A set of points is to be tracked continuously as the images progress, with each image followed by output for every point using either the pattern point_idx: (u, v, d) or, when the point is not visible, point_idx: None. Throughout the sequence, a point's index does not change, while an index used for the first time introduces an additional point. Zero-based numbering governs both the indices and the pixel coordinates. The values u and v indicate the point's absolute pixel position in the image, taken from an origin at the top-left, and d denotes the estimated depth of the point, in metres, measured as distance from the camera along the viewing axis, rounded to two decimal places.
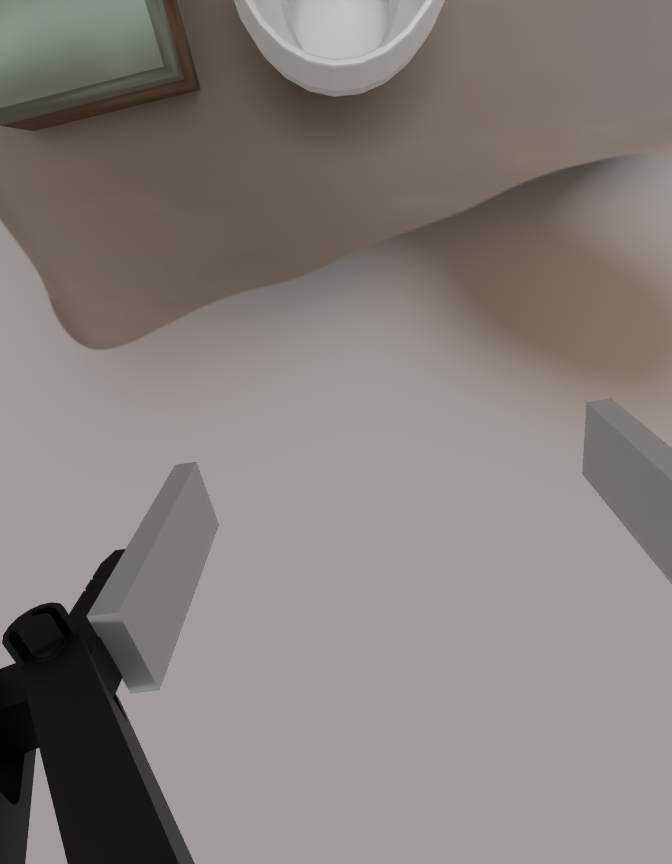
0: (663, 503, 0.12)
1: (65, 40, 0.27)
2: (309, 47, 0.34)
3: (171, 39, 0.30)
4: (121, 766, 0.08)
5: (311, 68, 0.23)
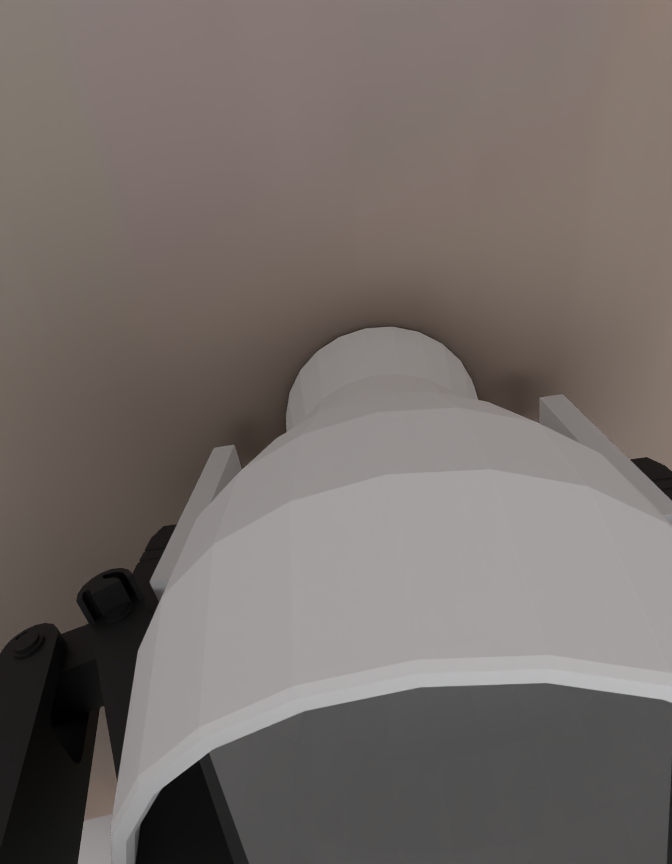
0: None
1: None
2: None
3: None
4: None
5: None
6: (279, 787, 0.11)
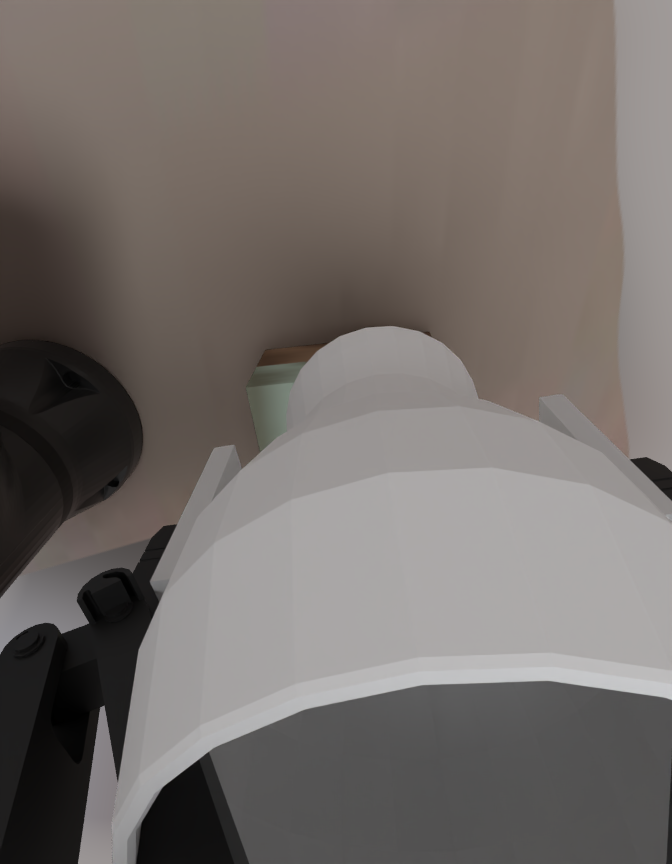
0: None
1: None
2: None
3: None
4: None
5: None
6: (280, 786, 0.11)
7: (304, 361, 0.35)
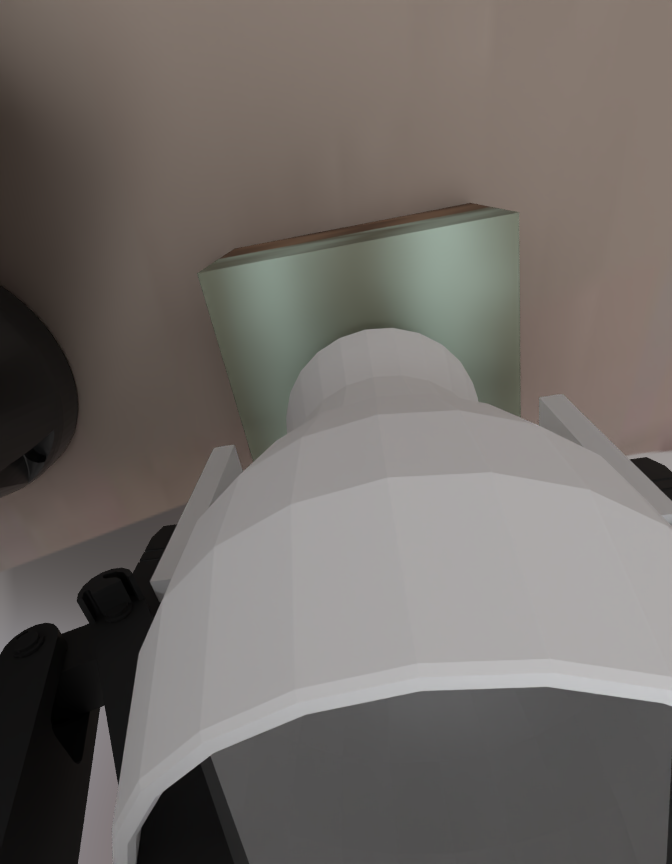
0: None
1: (468, 345, 0.21)
2: None
3: (449, 216, 0.22)
4: None
5: None
6: (280, 789, 0.11)
7: (289, 245, 0.23)
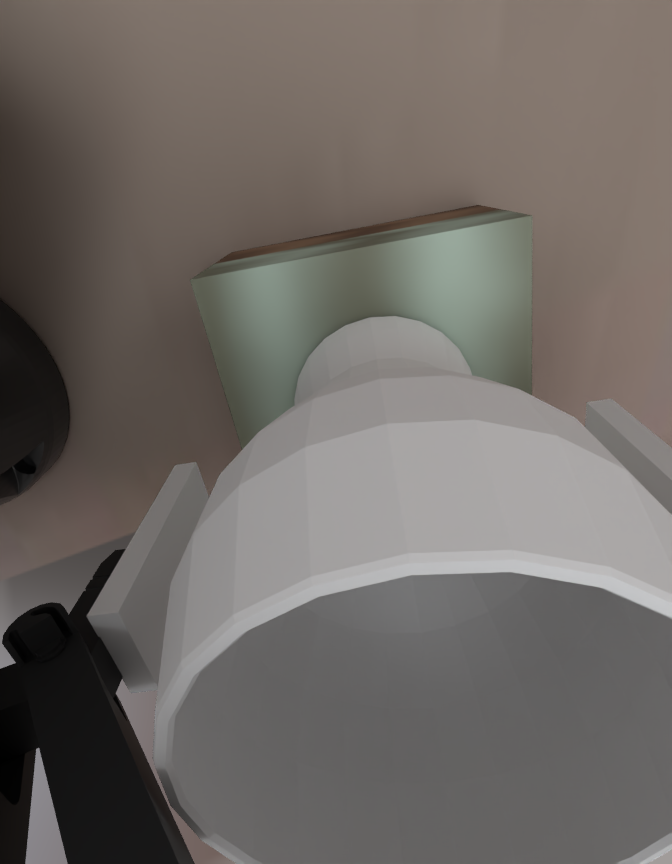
0: (663, 503, 0.12)
1: (477, 356, 0.20)
2: None
3: (456, 218, 0.21)
4: (121, 766, 0.08)
5: None
6: (288, 724, 0.13)
7: (288, 249, 0.22)
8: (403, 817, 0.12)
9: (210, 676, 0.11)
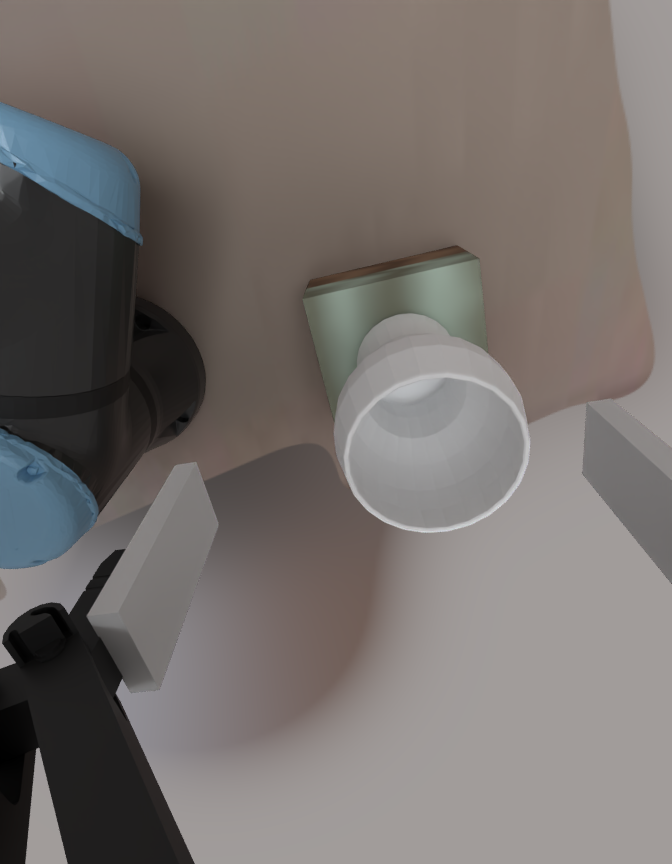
0: (663, 503, 0.12)
1: (456, 333, 0.37)
2: (420, 388, 0.39)
3: (442, 258, 0.38)
4: (121, 767, 0.08)
5: None
6: (374, 488, 0.30)
7: (348, 278, 0.39)
8: (424, 515, 0.29)
9: None
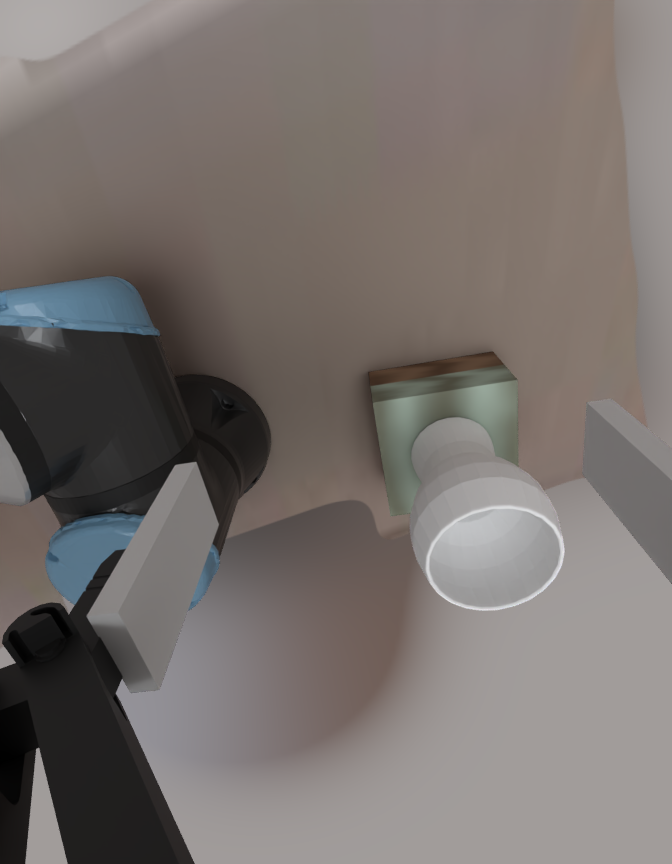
0: (663, 503, 0.12)
1: (494, 432, 0.46)
2: None
3: (484, 369, 0.47)
4: (121, 766, 0.08)
5: None
6: (436, 569, 0.38)
7: (405, 380, 0.48)
8: (476, 594, 0.37)
9: None
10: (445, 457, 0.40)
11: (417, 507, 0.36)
